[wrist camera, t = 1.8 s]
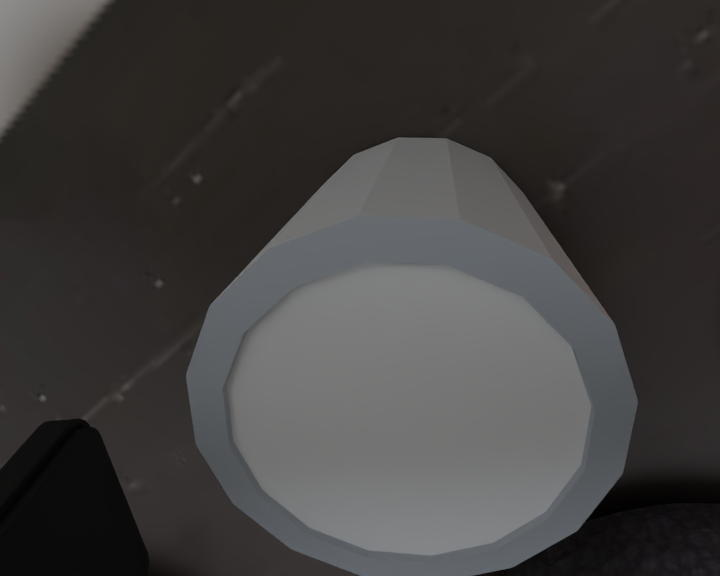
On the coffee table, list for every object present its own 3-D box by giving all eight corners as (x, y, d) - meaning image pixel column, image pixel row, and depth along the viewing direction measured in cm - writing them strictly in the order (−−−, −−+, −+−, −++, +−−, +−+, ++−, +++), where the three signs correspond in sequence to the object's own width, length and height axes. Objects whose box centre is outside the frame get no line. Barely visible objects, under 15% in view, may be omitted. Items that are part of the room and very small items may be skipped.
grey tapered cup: (225, 207, 17) (92, 359, 10) (469, 44, 14) (490, 113, 8) (379, 407, 19) (346, 634, 12) (613, 292, 16) (717, 500, 10)
